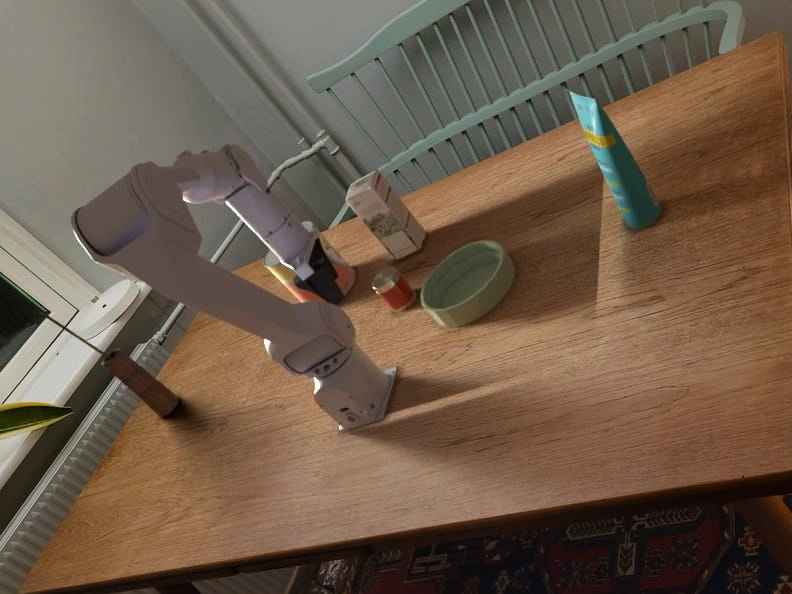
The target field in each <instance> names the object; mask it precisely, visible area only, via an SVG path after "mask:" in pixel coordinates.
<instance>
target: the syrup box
mask: <svg viewBox="0 0 792 594" xmlns="http://www.w3.org/2000/svg"><path fill="white" fill-rule="evenodd" d="M345 202H346V203H347V205H348V206H349V207H350V208H351V210H352V211H353V212H354V213H355V214H356V215H357V217H358V218H359V219H360V220H361V221H362V223H363V224H364V225H365V226H366V227H367V228H368V230H369V231H370V233H371V234H373V236H374V237H375V238H376V239H377V241H378V242H379V243H380V244H381V245H382V246H383V248H384V249H385V250H386V251H387V252H388V254H389V255H390V256H391V257H392V258H393V260H395V261H397V260H399V259H401V258H404V257H406V256H408V255H410V254H412V253H415V252H416V251H418V250H421V248H422V245H423V240H425V239H426V235H427V230H426V229H425V228H424V227H423V226H422V224H421V223H420V222H419V221H418V219H417V218H416V217H415V216H414V214H413V213H412V212H411V210H410V209H409V208H408V207H407V205H406V204H405V203H404V201H403V200H402V199H401V198H400V195H398V194H397V192H396V190H394V188H393V187H392V186H391V184H390V183H389V182H388V180H387V179H386V178H385V176H384V175H383V174H382V173H381V171H380V170H379V169H375V170H373V171H372V172H369V173H368V174H366V175H364V176H362V177H361V178H358V179H357V180H355V181H353V182H351V184H350V186H349V188H348V190H347V192H346V197H345Z"/></svg>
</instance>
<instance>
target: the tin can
mask: <svg viewBox="0 0 792 594" xmlns="http://www.w3.org/2000/svg"><path fill="white" fill-rule="evenodd" d="M371 287H372V289H373V290H374V291H375V292H376V294H377V295H379V297H380V298H381V299H382V300H383V301H384V302H385V303H386V305H388V307H389V308H390V309H391V310H392V311H393V312H395V313H399V312H403V311H404V310H406V309H408V308H409V307H410V306H411V305H412V304H413V303H414V301H415V299H416V297H417V293H416V291H415V290H414V288H413V287H412V286H411V285H410V284H409V283H408V281H407V280H406V279H405V277H404V276H403V275H402V274H401V273H400V272H399V271H398V269H396V267H394V266H389V267H386V268H384V269H382V270H381V271H380V272H379V273H378V274H377V275H376V276H375V277H374V278H373V279H372V283H371Z"/></svg>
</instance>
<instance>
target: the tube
mask: <svg viewBox="0 0 792 594" xmlns="http://www.w3.org/2000/svg"><path fill="white" fill-rule="evenodd" d="M566 91H568V93H569V95H570V98H571V100H572V104H573V106H574V108H575V109H574V110H575V112H576V114H577V117H578V119H579V122H580V124H581V128H582V129H583V132H584V134H585V137H586V139H587V141H588V143H589V146H590V148H591V151H592V153H593V156H594V157H595V159H596V162H597V164H598V167H599V168H600V170H601V172H602V175H603V178H604V179H605V181H606V184H607V186H608V189H609V191H610V192H611V194H612V196H613V199H614V201H615V204H616V205H617V207H618V209H619V212H620V213H621V216H622V218H623V219H624V222H625V224H626V226H627V227H628V228H630V229H633V230H640V229H645V228H646V227H649V226H651V225H653V224H654V222H655V221H656V220H658V218H659V217H660V215H661V214H662V206H661V204H660V202H659V199H658V198H657V196H656V195H655V193H654V190H653V189H652V187H651V185H650V183H649V182H648V180H647V178H646V177H645V175H644V173H643V171H642V170H641V168H640V166H639V165H638V162H637V161H636V159H635V158H634V156H633V154H632V152H631V151H630V148H629V147H628V145H627V144H626V142H625V141H624V139H623V137H622V136H621V134H620V132H619V131H618V130H617V128H616V126H615V124H614V122H613V121H612V120H611V118H610V117H609V115H608V114H607V113H606V111H605V110H604V108H603V107H602V106H601V105H600V104H599V102H598V101H597V99H595V98H593V97H590V96H584V95H581V94H579V93H577V92H575V91H573V90H570V89H569V88H566Z"/></svg>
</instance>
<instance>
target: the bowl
mask: <svg viewBox="0 0 792 594" xmlns="http://www.w3.org/2000/svg"><path fill="white" fill-rule="evenodd" d="M515 275H516V267H515V263H514V261H512V259H511V257H510V256H509V254H508V253H507V251H506V250H505V249H504V247H503V246H502V245H501V244H500V243H498V241H495V240H491V239H483V240H477V241H473V242H470V243H468V244H466V245H463V246H461V247H459V248H458V249H456V250H455V251H453V252H452V253H449V254H448V255H447V256H446V257H445V258H444V259H443V260H442V261H441V262H439V263H438V264H437V265H436V267H435V268H434V269H433V270H432V271H431V272H430V273H429V275H428V277H427V278H426V280H425V282H424V283H423V284H422V288H421V292H420V303H421V305H422V306H423V307H424V309H425V310H426V312H428V313H429V315H430V316H431V317H432V318H433V319H434V320H435V322H436V323H437V324H438V325H440V326H442V327H446V328H456V327H459V328H460V327H462V326H465V325H468V324H471V323H473V322H475V321H476V320H479V319H480V318H482V317H484V316H486V315H487V314H488V313H489V312H490V311H492V310H493V309H494V308H495V307H497V306H498V304H499V303H500V302H501V301H502V300H503V299H504V298H505V296H506V295H507V294H508V292H509V291H510V289H511V287H512V286H513V283H514V281H515Z"/></svg>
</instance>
